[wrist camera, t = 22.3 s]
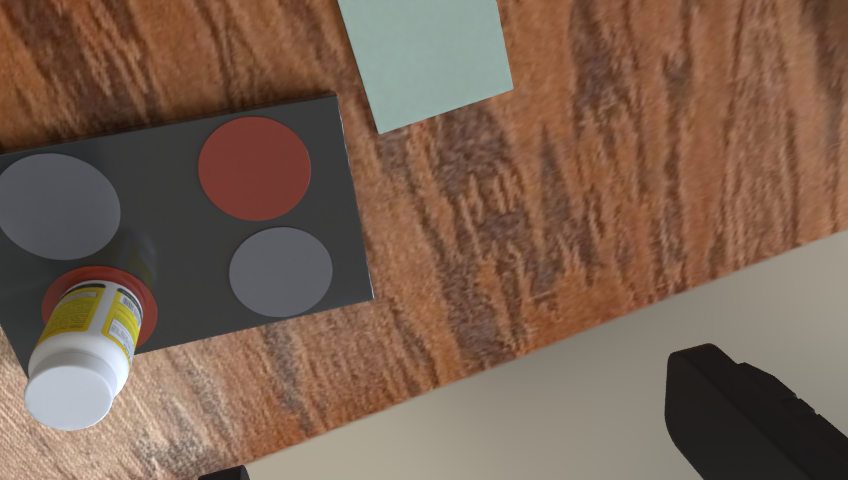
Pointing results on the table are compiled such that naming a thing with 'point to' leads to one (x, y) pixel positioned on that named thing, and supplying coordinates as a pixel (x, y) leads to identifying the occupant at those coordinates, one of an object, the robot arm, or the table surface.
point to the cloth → (425, 55)
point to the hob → (186, 222)
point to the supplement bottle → (83, 355)
